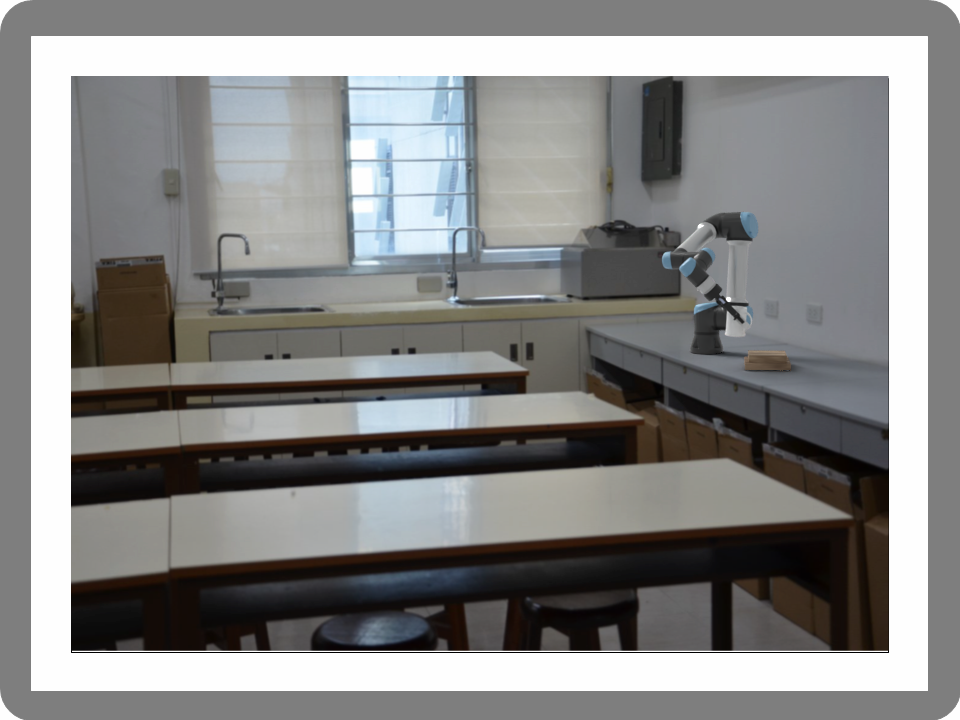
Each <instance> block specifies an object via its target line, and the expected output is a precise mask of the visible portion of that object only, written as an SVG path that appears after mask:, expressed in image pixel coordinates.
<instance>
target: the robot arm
mask: <svg viewBox="0 0 960 720" xmlns="http://www.w3.org/2000/svg"><path fill="white" fill-rule="evenodd" d="M758 233H759V223H758V220H757V217H756V215H755V214H754V213H753V212H751V211H733V212H718V213H715V214H713V215H711V216H709V217H707V218H706V219H704V220H703V221H701V222H700V223H699V224H698V225H697V226H696V230H695V231H694V232H693V233H691V235H690V236H688V237H687V238H686V239H685V240H684V241H683V242H682V243H681V244H680V245H678V247H677V248H675V249H674V251H671V250H670V251H666V252H664V253H663V255H662V257H661V263H662V266H663V268H664V269H666V270H667V269H668V270H679V272H680V273H681V274H682V275H683V276H684V277H685V279H687V280H688V281H689V282H690V283H691V284H692V285H693V286H694V288H696V291H697V292H698V293H699V292H700V293H701V295H703V296H704V298H705V299H706V300H707V301H709V302H706V303H705V302H704V303H699V304H696V305H695V306H694V308H693V337H692V341H691V344H690V346H689V352H690V353H691V354H700V355H714V354H715V355H716V353H717V354H722V353H724V346H723V343H722V340H721V337H720V331H721V332H722V331H723V332H726V320H727V311H728V312H729V313H730V314H731V315H732V316H733V317H734V319H733V320H734V321H735V320H736V321H737V322H738V323H739V324H740V325H741V326H742V327H743V328H744V329H745V332H747V331H748V330H749V329H750V328H751V327H752V325H751V326H750V323H751V319H750V317H749V316H748V315H747V316H746V320H745V319H744V318H743V317H742V316H741V315H740V314H739V313H738V312H737V311H736V310H735V309H734V308H733V307H732V306H742V307H746V308H747V312H748V313H749V314H750V315H751V317H752V320H753V318H754V310H753V307H751V305H750V302H749V301H748V300H747V299H746V296H747V284H748V283H747V282H748V265H749V251H750V250H749V249H750V245H751V244H753V239H755V238H756V237H758ZM716 239H726V240H725V243H727V244H728V247H729V248H728V261H727V263H728V264H727V276H726V277H727V279H726V296H724V295H720V294H721V293H722V292H723V288H722V287H721V286H720V284H719V283H716V281H715V280H714V278H713V277H712V276H711V275H709V274H708V272H707V271H708V269H710V268H711V266H712V265H713V263H714V262H715V260H716V254H715V251H714V250H713V249H711V248H709V247H704V246H705V245H707V243H710V242H713V241H715V240H716ZM713 300H714V301H713ZM735 314H736V315H735ZM734 315H735V316H734ZM721 352H722V353H721Z"/></svg>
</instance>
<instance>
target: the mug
mask: <svg viewBox="0 0 960 720" xmlns="http://www.w3.org/2000/svg"><path fill="white" fill-rule="evenodd" d="M732 307H733V308H734V309H735V310H736V311H737V312H738V313H739V314H740V315H741V316H742V317H743V318H744V319H745V320H746V316H747V315H748V316H749V317H750V319H751V323H750V326H751V327H752V326H753V325H752V324H753V319H752V317H751V315H750V314H749V313H748V312H747V308H746V307H742V306H732ZM735 315H736V314H735ZM735 315H734V316H735ZM733 319H734V317H733V316H732V315H731V314H730V313H729V312H728V311H727V320H726V331H724V335H725V336H727V337H731V338H744V337H746V331H745V329H744V328H743V327H742V326H741V325H740V324H739V323H738V322H737V321H736V320H735V321H734V320H733Z"/></svg>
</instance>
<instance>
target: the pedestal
mask: <svg viewBox="0 0 960 720" xmlns="http://www.w3.org/2000/svg"><path fill="white" fill-rule="evenodd" d="M743 361H744V362H743V364H744V365H745V366H744V371H745V370H780V371H779V372H784V371H783V370H790V371H789V372H791V371H792V363H791V360H790V358H789V357H788V355H787V353H786V350H762V349H761V350H759V349H757V350H755V349H754V350H747V356H744V359H743ZM781 370H782V371H781Z"/></svg>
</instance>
